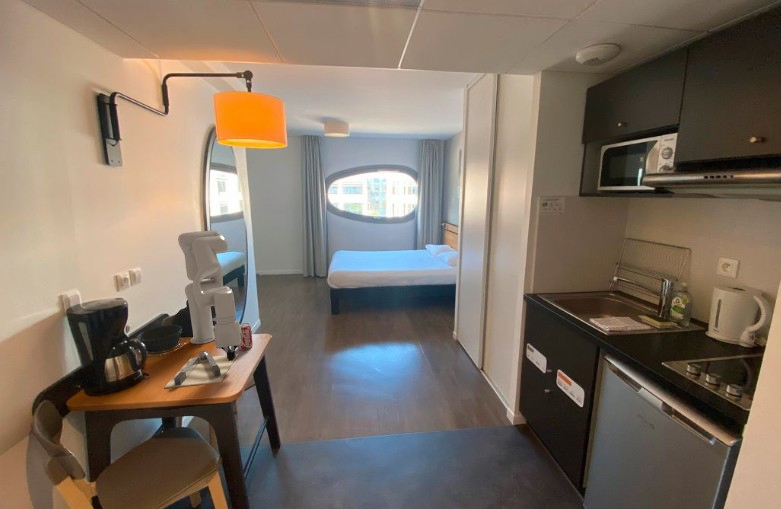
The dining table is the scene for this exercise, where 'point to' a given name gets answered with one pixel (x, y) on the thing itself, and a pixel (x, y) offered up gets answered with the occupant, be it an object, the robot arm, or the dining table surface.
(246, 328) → the soda can
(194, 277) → the robot arm
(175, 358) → the dining table surface
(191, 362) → the arm
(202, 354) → the tong arm
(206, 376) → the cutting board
